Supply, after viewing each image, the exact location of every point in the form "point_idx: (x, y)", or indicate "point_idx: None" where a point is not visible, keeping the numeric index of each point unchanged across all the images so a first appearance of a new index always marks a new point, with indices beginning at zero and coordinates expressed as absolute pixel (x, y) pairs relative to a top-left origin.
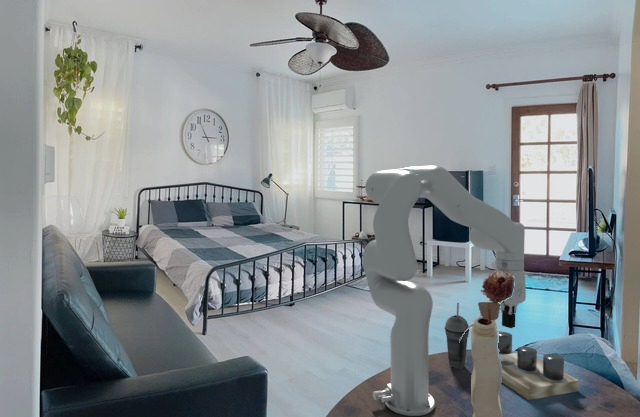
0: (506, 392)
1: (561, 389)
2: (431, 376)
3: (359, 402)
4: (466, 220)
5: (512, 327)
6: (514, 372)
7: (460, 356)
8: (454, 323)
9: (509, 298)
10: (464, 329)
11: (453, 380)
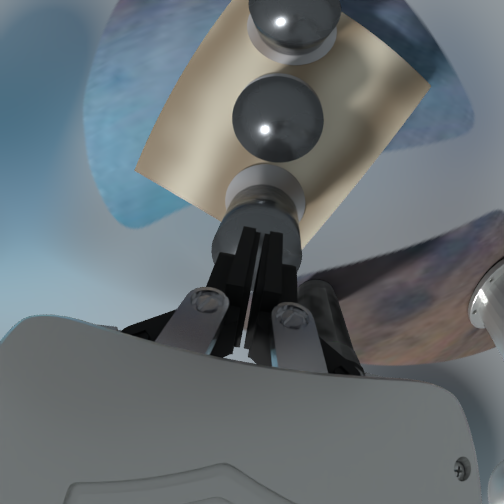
0: (405, 144)
1: None
2: (400, 311)
3: None
4: None
5: (281, 233)
6: (342, 142)
7: (337, 306)
8: None
9: (478, 473)
10: None
11: (401, 272)
